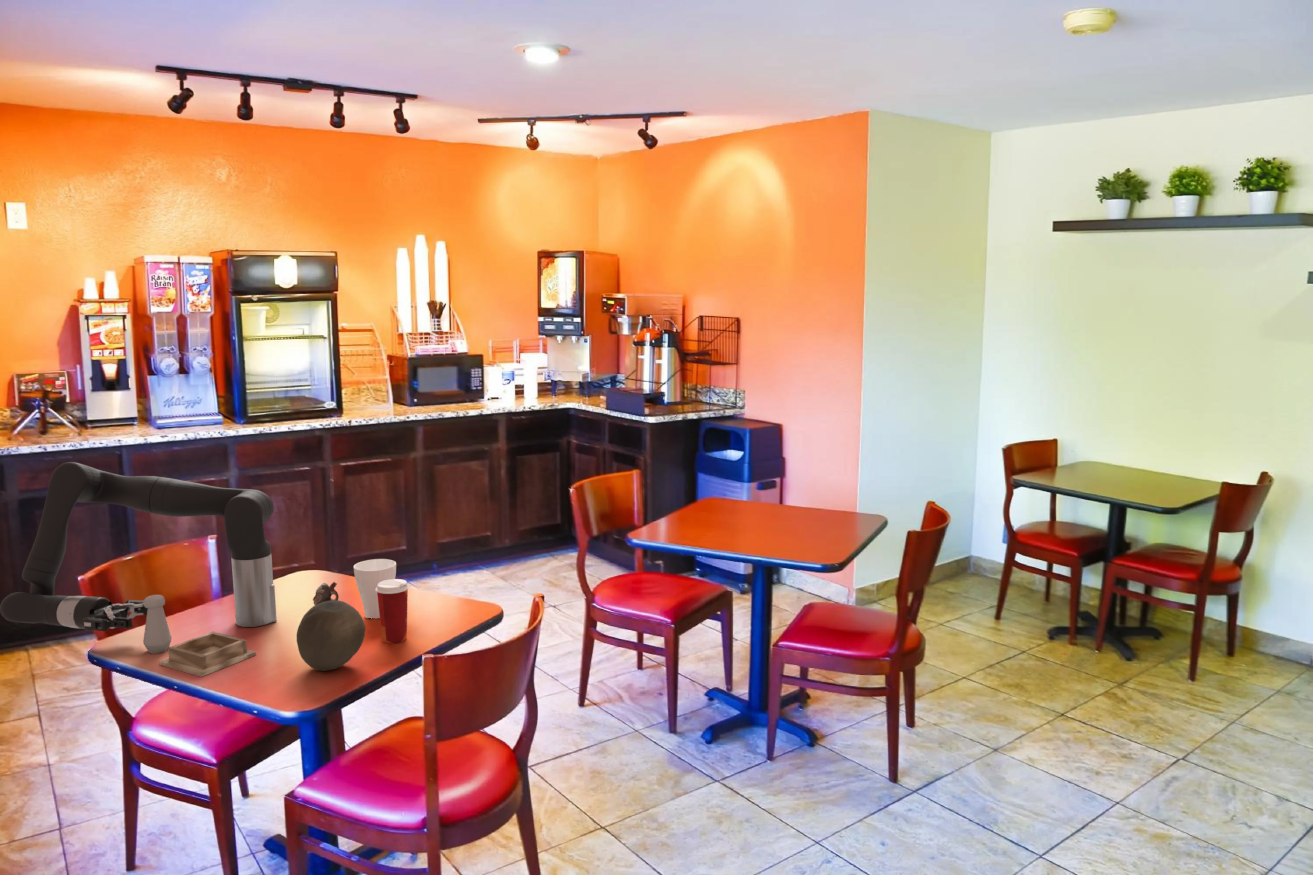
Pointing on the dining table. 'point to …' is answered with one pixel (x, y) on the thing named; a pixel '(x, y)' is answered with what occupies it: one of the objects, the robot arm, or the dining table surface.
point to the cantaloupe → (330, 635)
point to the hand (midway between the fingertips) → (144, 616)
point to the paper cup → (393, 609)
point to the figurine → (325, 593)
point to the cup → (372, 582)
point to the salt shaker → (156, 625)
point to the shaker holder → (207, 654)
